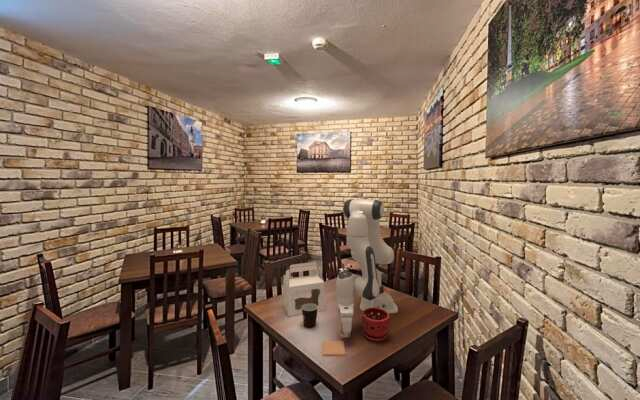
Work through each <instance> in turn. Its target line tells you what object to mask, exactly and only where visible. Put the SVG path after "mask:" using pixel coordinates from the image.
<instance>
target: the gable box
mask: <svg viewBox="0 0 640 400" xmlns="http://www.w3.org/2000/svg"><path fill="white" fill-rule="evenodd" d="M321 269H322V268H321V266H318V264H317V262H316V261H312V262H311V261H310V262H302V263H301V262H300V263H294V264H290V265H289V269H287V270H285V275H284V277H283V280H282V281H283V284H282V285H283V288H282V289H283V308H284V310H285V311H286V313H287V316H288V317H294V316H299V315H302V306H303V305H305V304H315V305H317V306H318V309H317V313H318V312H323V311H325V280H324V278H323V275H322V271H321ZM306 271H315V274H313V275H305V276H298V277H297V276H296V277H292V276H291V274H292V273H298V272H306ZM299 291H300V292H301V291H304V292H305V291H306V292H307V291H310V292H311V296H310V297H298V298H296V299H295V298H294V294H295V293H296V292H299Z"/></svg>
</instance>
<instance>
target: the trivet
mask: <svg viewBox="0 0 640 400" xmlns="http://www.w3.org/2000/svg"><path fill="white" fill-rule="evenodd" d="M321 343H322V357H337V356H339V357H342V356H343V357H345V356H346V349H345V343H344V341H343V340H329V341H328V340H326V341H324V340H322V342H321Z"/></svg>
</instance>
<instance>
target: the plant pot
mask: <svg viewBox="0 0 640 400" xmlns="http://www.w3.org/2000/svg"><path fill="white" fill-rule="evenodd" d="M371 313H372V314H371ZM378 313H379V314H380V315H378ZM373 316H375V318H373ZM361 321H362V326H363V327H362V328H363V335H364V337H365V338H367V339H368V340H370V341H373V342H382V341H384V340H385V339H386V338H388V337H387V336H388V329H389V326H390V314H388V312H387V311H385V310H383V309H380V308H367V309H365V310H364V311H363V310H362V317H361Z"/></svg>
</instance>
